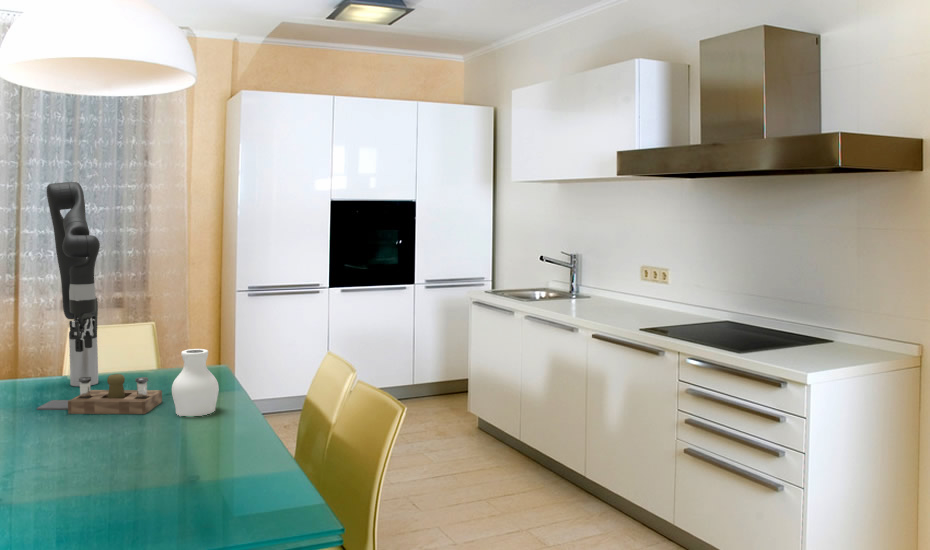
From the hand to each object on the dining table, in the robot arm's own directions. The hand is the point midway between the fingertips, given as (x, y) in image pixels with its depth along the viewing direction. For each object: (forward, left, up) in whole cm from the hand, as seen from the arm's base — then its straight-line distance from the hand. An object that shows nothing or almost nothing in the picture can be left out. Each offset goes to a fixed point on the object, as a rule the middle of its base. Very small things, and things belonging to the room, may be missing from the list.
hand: (84, 349), depth 244 cm
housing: (-2, +9, -20) cm, 22 cm away
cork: (-2, +9, -20) cm, 22 cm away
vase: (+3, +36, -20) cm, 41 cm away
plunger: (0, 0, -17) cm, 17 cm away
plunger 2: (0, +18, -17) cm, 25 cm away
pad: (-4, -10, -20) cm, 22 cm away
